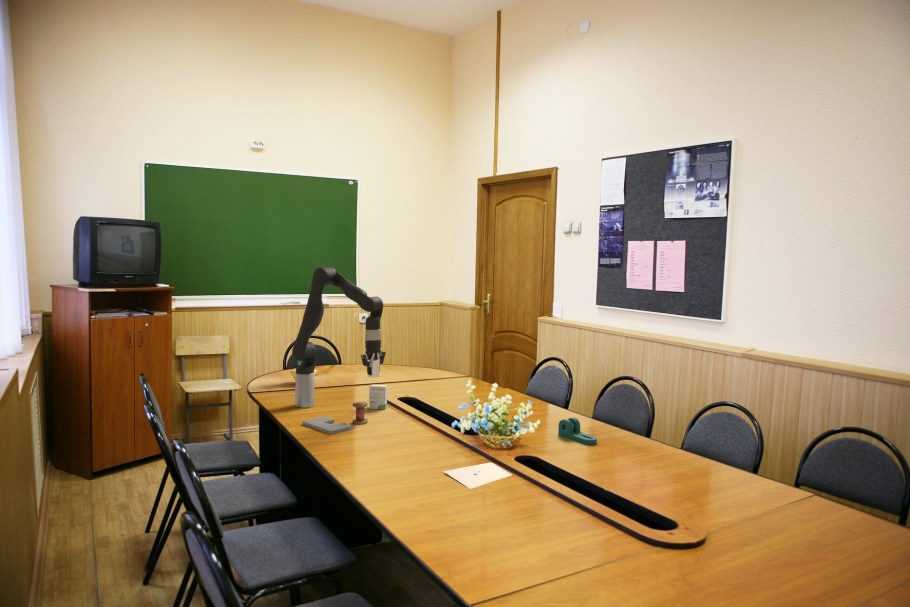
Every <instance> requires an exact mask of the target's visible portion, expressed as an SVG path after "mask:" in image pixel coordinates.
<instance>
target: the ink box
mask: <svg viewBox="0 0 910 607" xmlns="http://www.w3.org/2000/svg"><path fill="white" fill-rule="evenodd" d="M368 390H369V391H368V392H369V393H368V394H369V395H368V396H369V397H368V398H369V399H368V402H369V403H368V409H369V410H386V409H387V408H388V385H387V384H384V385H383V384H371V385H369V389H368Z"/></svg>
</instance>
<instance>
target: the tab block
mask: <svg viewBox="0 0 910 607" xmlns="http://www.w3.org/2000/svg"><path fill="white" fill-rule="evenodd" d="M369 361H370V360H369ZM369 363H370V362H369ZM371 367H372V375H368V374H367V377H368V378H379V377H380V372H379V360H375V359H374V360H373V361H372V366H371Z"/></svg>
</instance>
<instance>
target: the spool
mask: <svg viewBox="0 0 910 607" xmlns="http://www.w3.org/2000/svg"><path fill="white" fill-rule="evenodd" d="M352 407H353V408H355V418H354V419H352V424H353V425H365V424H368V422H369V421H368V418H365V408H367V407H369V403H368V402H367V401H356V402H355V401H354V402H353V403H352Z"/></svg>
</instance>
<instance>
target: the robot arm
mask: <svg viewBox="0 0 910 607" xmlns="http://www.w3.org/2000/svg"><path fill="white" fill-rule="evenodd" d="M330 285H331V286H333V287H337V288H338V289H339V290H341V292H342V293H343V294H344V296H346V298H348V299H349V300H350V301H353V303H356V304H357V305H358V306H359V307H360V309H362V310H363V311H364V312H368V313H369V316H368V317H366V318H365V332H364V338H365V339H364V341H365V342H364V344H365V346H364V348H365V353H364V354H360V359H361V361H362V362H361V363H362V365H363V366H364V367H366V374H367V376H368V375H372V367H371V366H372V361H373V360H374V359H375V360H379V373H380V371H381V365H383V364H384V363H385V362H384V361H385V357H386V353H387V352H385V351H382V350H381V348H382V331H381V318H382V315H383V311H384V302H383V300H382V299H383V298H381V297H380V296H368V293H367V292H366V291H365V290H364V289H363V288H360V287H359V286H357V285H356V284H354V283H353V282H351V281H350V280H348V279H347V278H345V276H343V275H342V274H341V273H340V272H339V271H338V270H336V269H335V268H334V267H332V266H319V267H317V268H316V269H314V271H313V274H312V277H311V285H310V291H309V294H308V298H307V302H306V306H305V310H304V313H303V316H302V321H301V324H300V327H299V330H298V333H297V335H296V338H295V341H294V343H293V346H292V348H291V350H292V351H291V353H292V358H293V359H294V360H295V361H302V363H301V364H300V365H299V366H296V368H295V369H296V381H295V387H294V391H295V392H294V405H295V406H296V407H297V408H305V409H306V408H312V407H314V406H315V375H314V369H315V370H316V362H317V361H316V360H317V349H316V345H315V344H314V343H313V341H309V340H310V338H311V337H312V335H313V334H314V332H315V331H317V329H318V327H319V326H320V325H321V323H322V320H323V317H324V312H325V306H324V302H323V292H324V289H325V286H330ZM369 360H370V361H369ZM369 362H370V363H369Z"/></svg>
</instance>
